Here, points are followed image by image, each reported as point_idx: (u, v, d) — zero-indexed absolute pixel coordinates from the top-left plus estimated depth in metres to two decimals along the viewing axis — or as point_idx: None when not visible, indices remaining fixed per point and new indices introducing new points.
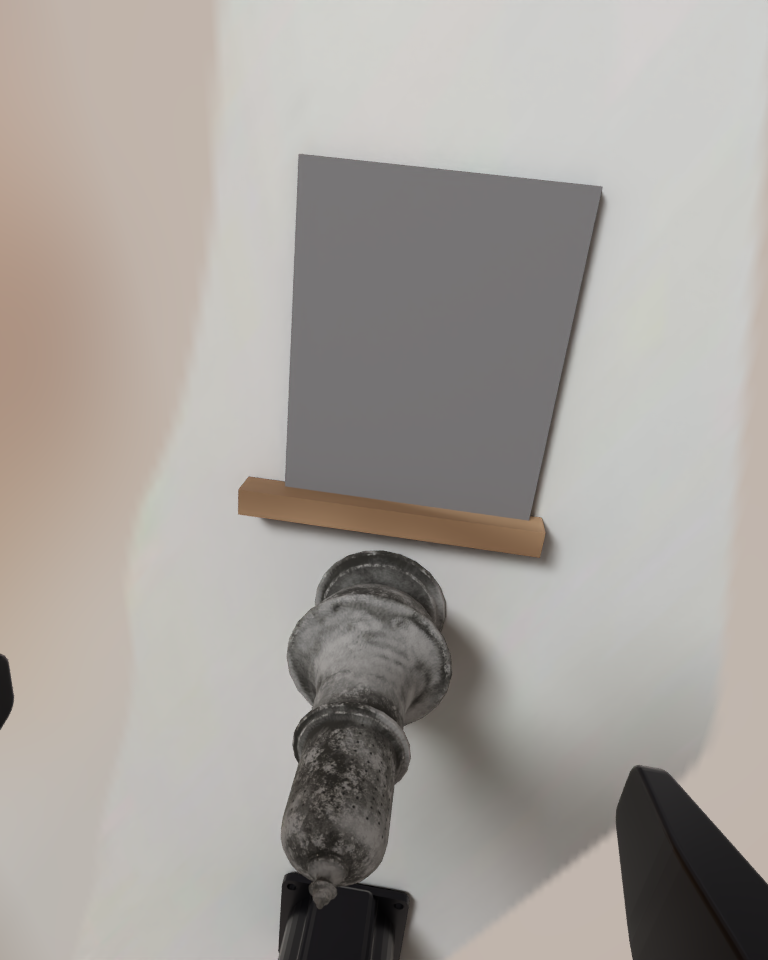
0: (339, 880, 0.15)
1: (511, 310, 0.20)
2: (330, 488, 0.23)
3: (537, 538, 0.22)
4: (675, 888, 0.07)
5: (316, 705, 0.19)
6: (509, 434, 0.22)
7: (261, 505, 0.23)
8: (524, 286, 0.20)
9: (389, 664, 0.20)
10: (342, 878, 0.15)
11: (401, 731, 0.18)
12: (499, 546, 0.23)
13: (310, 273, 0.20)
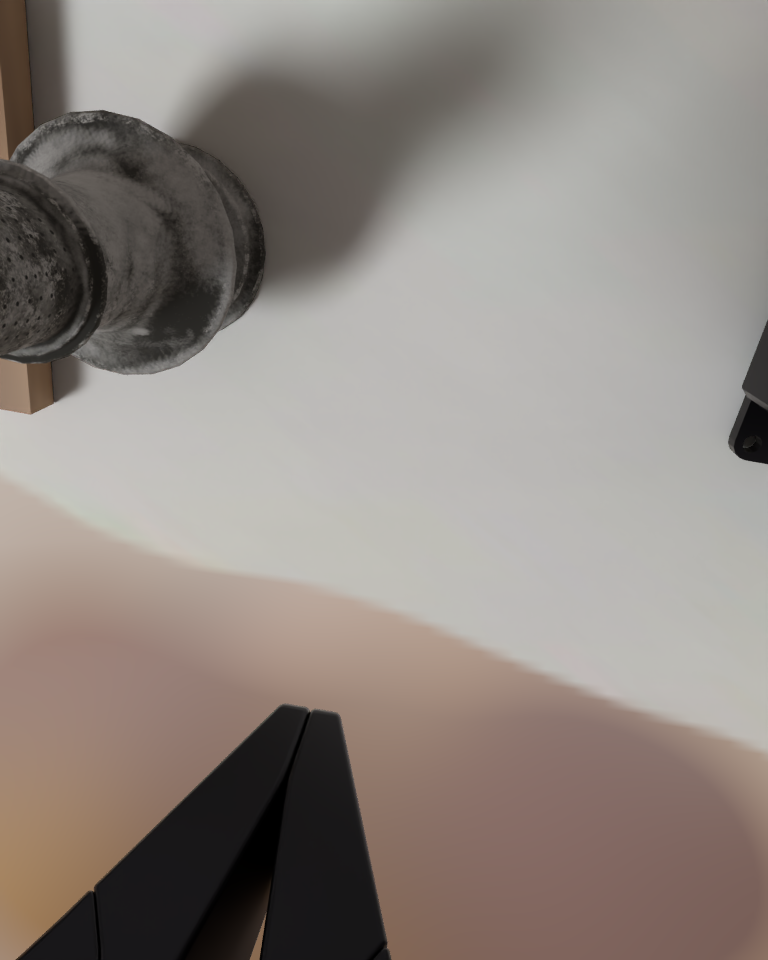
0: None
1: None
2: None
3: None
4: None
5: None
6: None
7: (12, 384, 0.19)
8: None
9: None
10: None
11: None
12: None
13: None
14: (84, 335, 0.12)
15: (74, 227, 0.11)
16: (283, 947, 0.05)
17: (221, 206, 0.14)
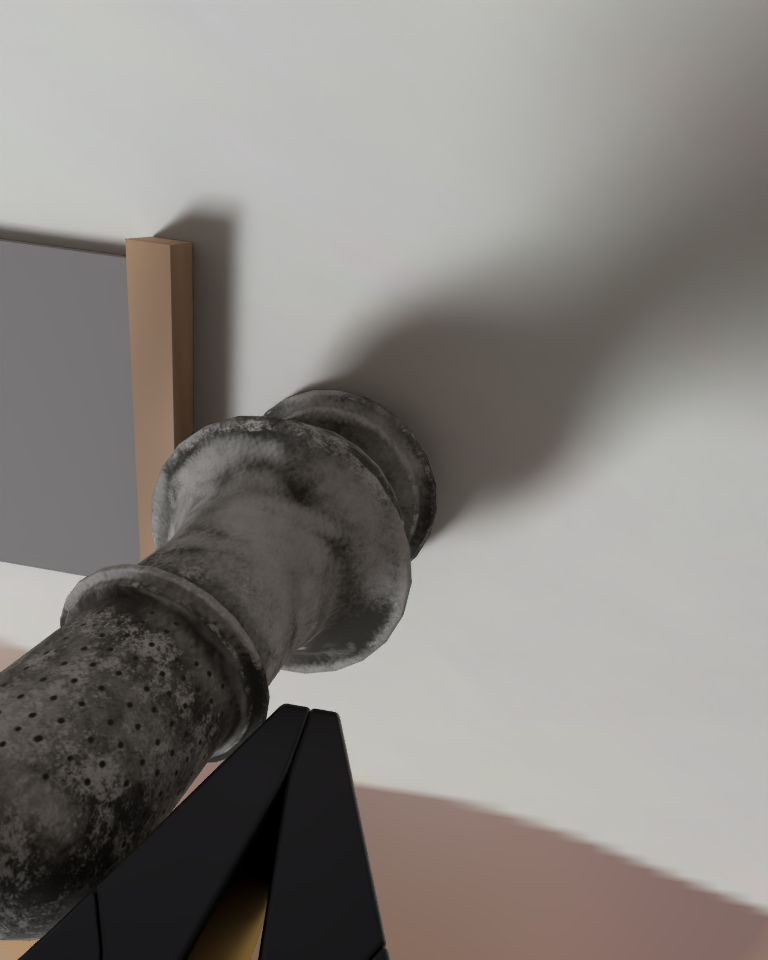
0: None
1: None
2: None
3: (136, 252, 0.14)
4: None
5: None
6: (21, 299, 0.15)
7: None
8: None
9: (173, 535, 0.12)
10: None
11: (92, 574, 0.09)
12: (162, 313, 0.14)
13: None
14: None
15: (234, 654, 0.09)
16: (282, 947, 0.05)
17: (399, 524, 0.12)
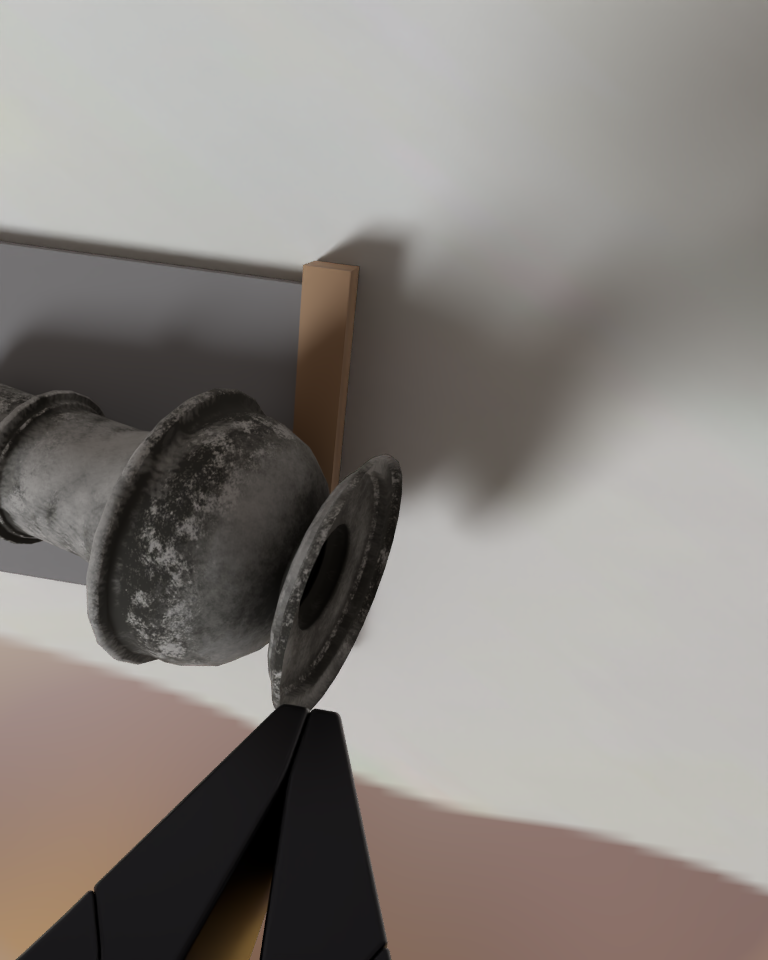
0: None
1: (8, 329, 0.15)
2: None
3: (314, 278, 0.13)
4: None
5: None
6: (173, 325, 0.15)
7: None
8: None
9: None
10: None
11: None
12: (334, 341, 0.14)
13: (24, 559, 0.18)
14: (3, 532, 0.13)
15: None
16: (283, 947, 0.05)
17: (108, 506, 0.10)
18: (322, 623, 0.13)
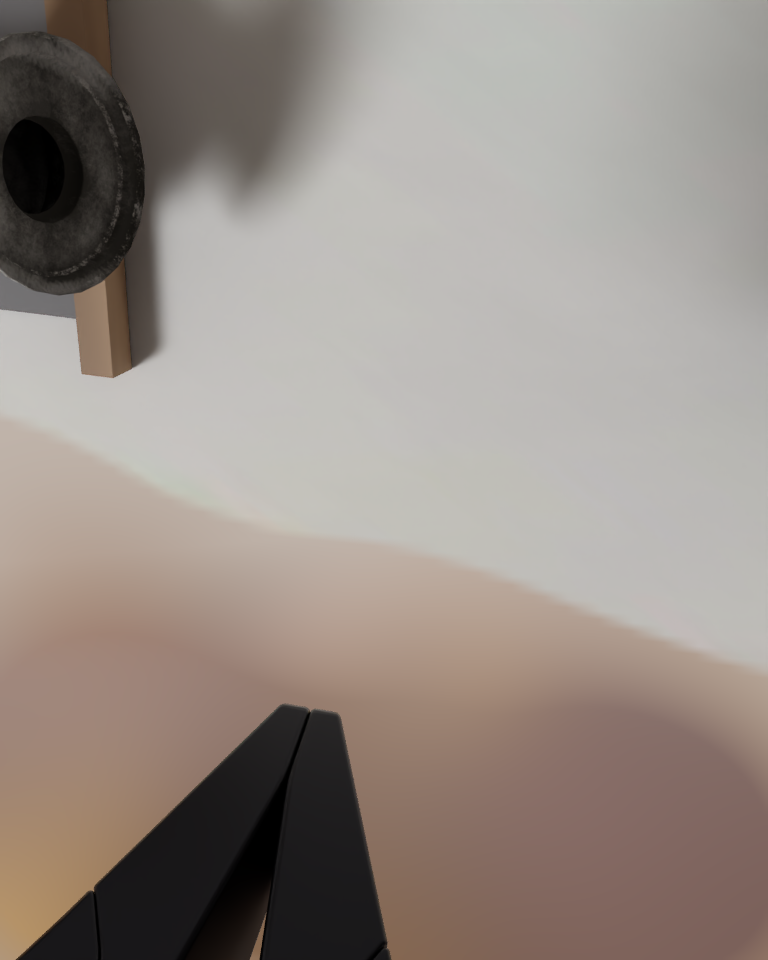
0: None
1: None
2: None
3: None
4: None
5: None
6: None
7: (94, 347, 0.19)
8: None
9: None
10: None
11: None
12: (74, 0, 0.16)
13: None
14: None
15: None
16: (283, 947, 0.05)
17: None
18: (59, 233, 0.15)
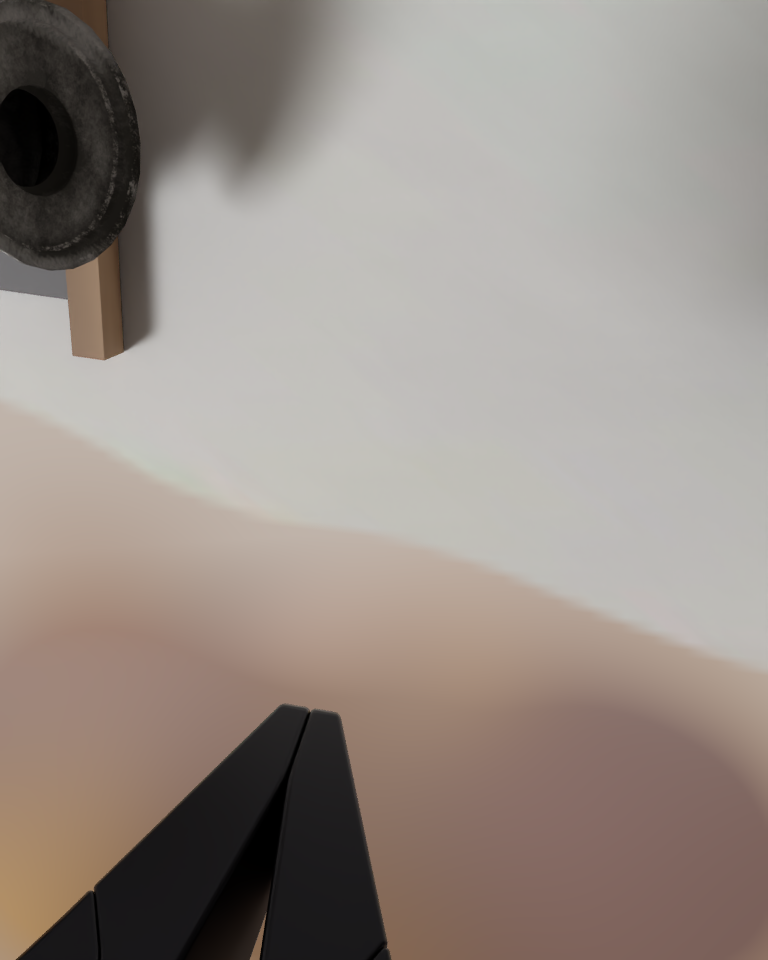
0: None
1: None
2: None
3: None
4: None
5: None
6: None
7: (85, 329, 0.19)
8: None
9: None
10: None
11: None
12: None
13: None
14: None
15: None
16: (283, 947, 0.05)
17: None
18: (51, 208, 0.15)
